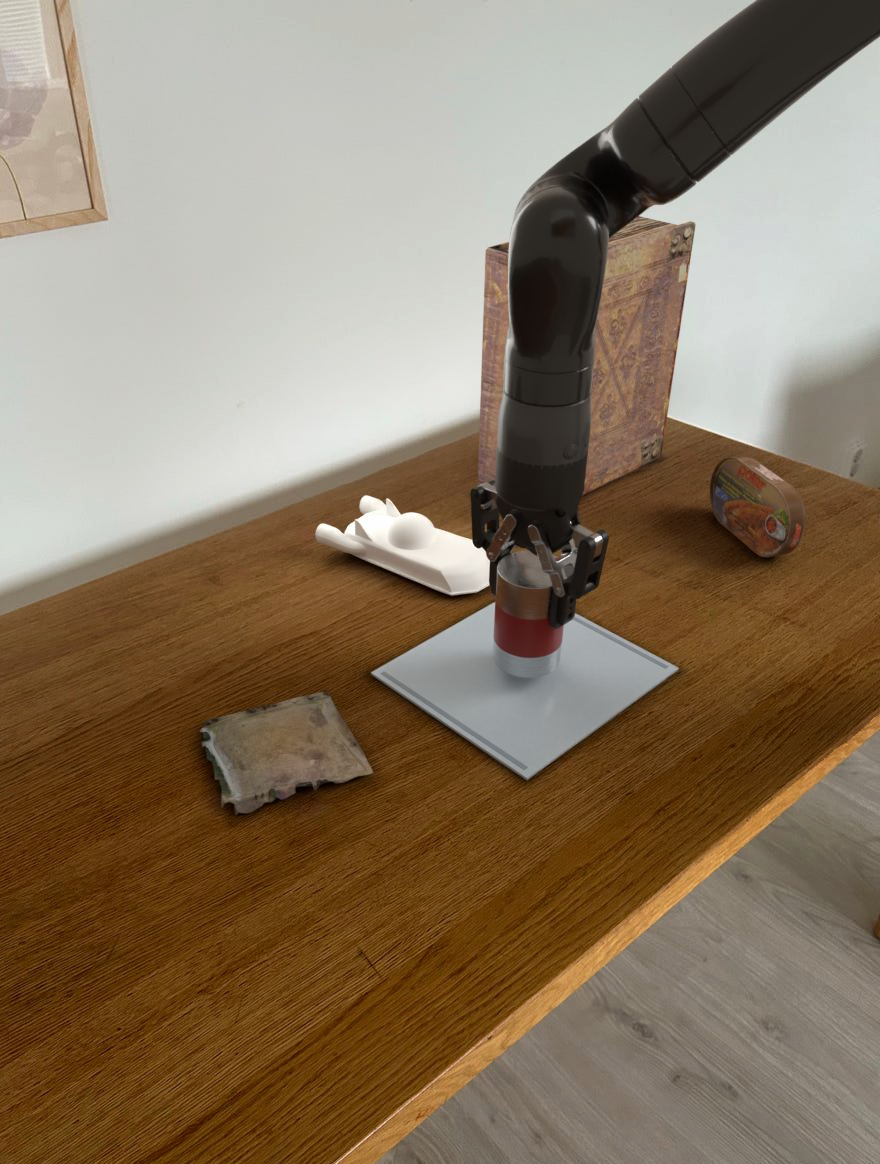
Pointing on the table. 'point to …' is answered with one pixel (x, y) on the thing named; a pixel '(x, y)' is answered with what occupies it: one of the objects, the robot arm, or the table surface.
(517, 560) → the can
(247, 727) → the parchment
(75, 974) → the table surface
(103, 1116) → the table surface
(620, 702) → the square board
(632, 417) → the book
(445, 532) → the white toy spaceship
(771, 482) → the tin
